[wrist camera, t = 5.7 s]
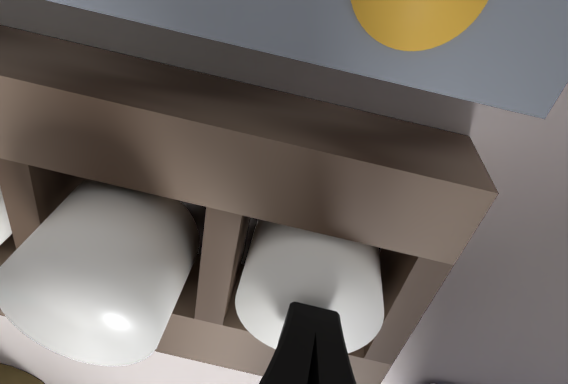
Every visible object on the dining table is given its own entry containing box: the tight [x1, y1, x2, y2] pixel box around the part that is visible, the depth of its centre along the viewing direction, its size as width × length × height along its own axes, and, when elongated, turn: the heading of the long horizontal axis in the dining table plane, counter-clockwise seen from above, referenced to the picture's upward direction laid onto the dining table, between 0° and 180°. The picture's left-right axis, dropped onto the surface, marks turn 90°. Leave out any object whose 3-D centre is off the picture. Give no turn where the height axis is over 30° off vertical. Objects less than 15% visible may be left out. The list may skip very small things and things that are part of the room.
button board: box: [0, 25, 499, 384], centre depth 14 cm, size 19×10×3 cm, turn 79°
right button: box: [235, 219, 384, 353], centre depth 14 cm, size 4×4×4 cm
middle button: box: [0, 179, 200, 366], centre depth 12 cm, size 4×4×4 cm
